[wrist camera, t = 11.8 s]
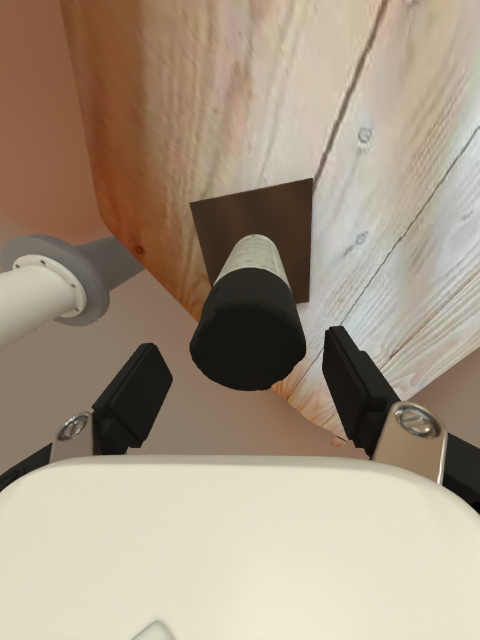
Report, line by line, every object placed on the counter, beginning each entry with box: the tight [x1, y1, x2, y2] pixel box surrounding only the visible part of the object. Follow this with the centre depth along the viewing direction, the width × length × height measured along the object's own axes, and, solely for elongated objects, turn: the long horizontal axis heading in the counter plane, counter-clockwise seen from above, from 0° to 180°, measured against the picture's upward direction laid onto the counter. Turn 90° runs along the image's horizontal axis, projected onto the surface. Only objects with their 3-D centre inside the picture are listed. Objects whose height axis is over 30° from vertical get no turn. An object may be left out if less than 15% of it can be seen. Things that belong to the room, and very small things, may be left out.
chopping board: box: [189, 178, 313, 303], centre depth 28 cm, size 15×16×2 cm
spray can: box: [190, 235, 306, 391], centre depth 19 cm, size 7×7×20 cm
